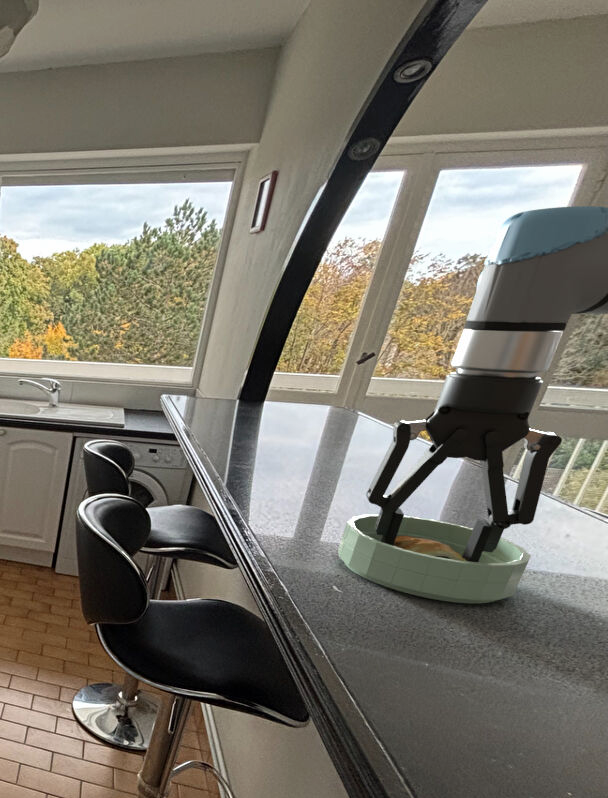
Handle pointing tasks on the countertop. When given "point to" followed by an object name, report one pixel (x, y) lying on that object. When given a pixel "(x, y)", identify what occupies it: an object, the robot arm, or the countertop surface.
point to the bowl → (432, 562)
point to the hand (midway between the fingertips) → (421, 566)
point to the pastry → (427, 547)
